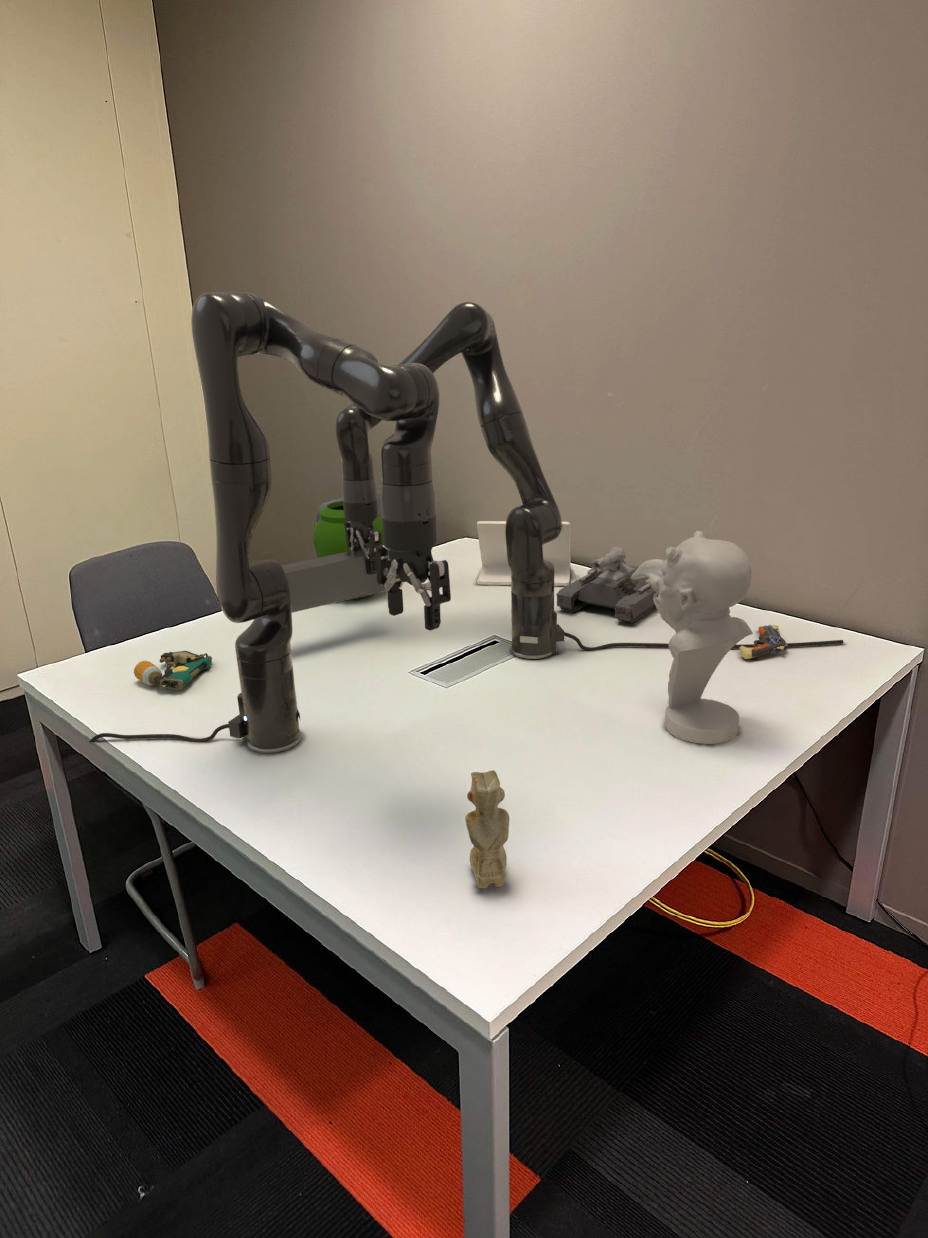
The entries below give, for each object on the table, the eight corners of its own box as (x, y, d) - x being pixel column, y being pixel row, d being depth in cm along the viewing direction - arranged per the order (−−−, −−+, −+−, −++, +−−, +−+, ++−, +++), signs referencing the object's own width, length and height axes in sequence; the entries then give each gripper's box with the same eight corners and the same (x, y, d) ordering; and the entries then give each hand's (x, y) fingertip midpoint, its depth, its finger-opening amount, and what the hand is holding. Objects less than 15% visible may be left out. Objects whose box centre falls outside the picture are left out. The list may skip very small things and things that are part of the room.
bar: (376, 584, 201) (373, 546, 197) (388, 590, 196) (385, 551, 193) (272, 607, 187) (268, 567, 184) (283, 614, 183) (278, 574, 180)
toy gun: (742, 650, 179) (792, 647, 177) (732, 623, 197) (777, 620, 194) (742, 662, 179) (792, 659, 177) (732, 635, 197) (778, 632, 195)
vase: (406, 590, 229) (401, 501, 221) (360, 612, 214) (353, 517, 206) (350, 579, 239) (343, 494, 231) (303, 600, 224) (293, 509, 216)
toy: (603, 584, 229) (605, 530, 224) (673, 597, 218) (677, 540, 213) (555, 612, 210) (556, 553, 205) (630, 627, 199) (633, 566, 194)
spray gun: (177, 659, 191) (231, 671, 185) (120, 684, 176) (176, 698, 171) (176, 641, 190) (230, 653, 184) (118, 665, 175) (174, 678, 169)
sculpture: (507, 859, 119) (506, 764, 113) (512, 893, 112) (511, 794, 107) (465, 861, 118) (462, 767, 113) (468, 895, 112) (465, 796, 106)
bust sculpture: (671, 682, 170) (682, 511, 158) (763, 732, 151) (784, 540, 138) (606, 701, 164) (613, 523, 151) (694, 755, 144) (709, 555, 131)
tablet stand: (569, 585, 229) (570, 524, 223) (476, 584, 232) (475, 523, 226) (570, 566, 246) (571, 508, 240) (484, 564, 249) (483, 507, 243)
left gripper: (357, 509, 122) (365, 615, 128) (419, 526, 112) (424, 641, 118) (398, 500, 127) (404, 603, 132) (462, 516, 116) (465, 627, 122)
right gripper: (330, 495, 192) (336, 566, 198) (359, 506, 181) (365, 581, 187) (360, 490, 196) (365, 560, 202) (390, 500, 185) (395, 574, 191)
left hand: (414, 621), depth 125 cm, fingers open, 8 cm apart
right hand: (365, 570), depth 195 cm, fingers closed on bar, 6 cm apart
